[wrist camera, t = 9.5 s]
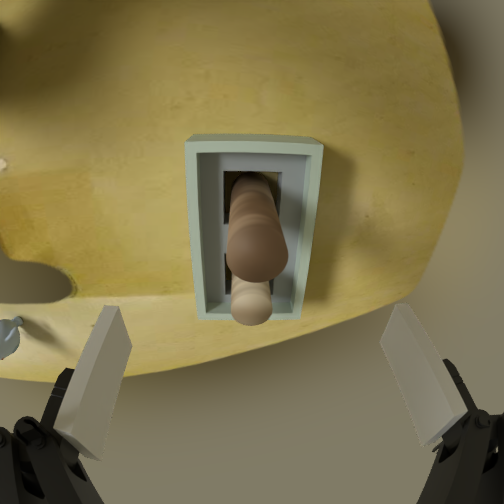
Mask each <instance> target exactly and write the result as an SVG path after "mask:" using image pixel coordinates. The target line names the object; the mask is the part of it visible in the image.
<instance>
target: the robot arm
mask: <svg viewBox="0 0 504 504" xmlns="http://www.w3.org/2000/svg"><path fill="white" fill-rule="evenodd" d="M380 345H381V347H382V349H383V351H384V354H385V356H386V358H387V360H388V363H389V365H390V367H391V370H392V372H393V374H394V377H395V379H396V382H397V384H398V386H399V389H400V391H401V394H402V396H403V399H404V401H405V404H406V406H407V409H408V412H409V414H410V416H411V419H412V422H413V425H414V428H415V430H416V433H417V436H418V438H419V441H420V444H421V447H423V446H426V445H428V444H431V443H434V442H435V441H436V440H438V439H439V438H440V437H441V436H442V438H443V441H442V442H441V443H440V444H439V445H437V446H436V447H435V448H434V449H433V451H432V452H435V451H436V450H437V449H439V450H438V452H437V456H436V459H435V461H434V464H433V466H432V469H431V472H430V474H429V477H428V479H427V481H426V484H425V487H424V489H423V491H422V493H421V495H420V497H419V500H418V502H417V504H504V413H503V414H501V415H489V414H488V413H487V412H486V411H484V410H480V409H479V410H478V409H477V407H476V405H475V403H474V401H473V399H472V397H471V395H470V394H469V392H468V389H467V388H466V386H465V384H464V383H463V380H462V378H461V377H460V376H459V373H458V371H457V369H456V367H455V366H454V365H453V364H452V363H451V362H450V361H449V360H448V359H444V360H442V359H441V357H440V356H439V354H438V352H437V350H436V348H435V347H434V345H433V343H432V342H431V340H430V338H429V336H428V335H427V333H426V331H425V330H424V328H423V326H422V325H421V323H420V321H419V320H418V318H417V317H416V315H415V313H414V312H413V311H412V309H411V307H410V305H409V304H408V303H401V304H395V307H394V309H393V312H392V314H391V316H390V319H389V321H388V324H387V326H386V328H385V331H384V333H383V335H382V338H381V340H380ZM131 349H132V344H131V341H130V338H129V336H128V333H127V330H126V327H125V324H124V321H123V318H122V315H121V312H120V309H119V306H107V305H104V307H103V309H102V311H101V313H100V315H99V317H98V319H97V322H96V324H95V326H94V328H93V330H92V332H91V334H90V336H89V339H88V341H87V343H86V345H85V347H84V350H83V352H82V354H81V356H80V359H79V361H78V363H77V366H76V368H75V369H70V368H65V370H64V371H63V372H62V373H61V374H60V375H59V376H58V378H57V381H56V383H55V385H54V388H53V390H52V393H51V396H50V398H49V400H48V403H47V405H46V408H45V411H44V414H43V416H42V419H41V422H40V423H39V422H38V421H37V420H36V419H34V418H33V417H29V416H26V417H22V418H21V419H19V420H18V421H17V422H16V424H15V426H14V430H13V432H14V433H10V432H9V431H8V430H7V429H5V428H4V427H0V504H104V502H103V501H102V499H101V498H100V496H99V494H98V493H97V491H96V489H95V487H94V486H93V484H92V482H91V480H90V479H89V477H88V475H87V473H86V471H85V469H84V468H83V465H82V463H81V461H80V460H79V459H78V456H79V452H80V453H81V454H82V455H84V456H85V457H87V458H90V459H94V460H98V461H101V460H102V456H103V451H104V447H105V442H106V438H107V434H108V430H109V425H110V422H111V418H112V414H113V410H114V406H115V402H116V399H117V395H118V391H119V388H120V385H121V381H122V378H123V374H124V371H125V368H126V365H127V361H128V358H129V355H130V352H131ZM497 447H498V452H497V453H496V448H497Z"/></svg>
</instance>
